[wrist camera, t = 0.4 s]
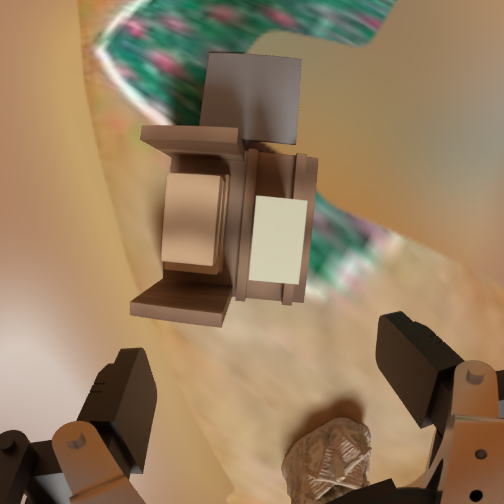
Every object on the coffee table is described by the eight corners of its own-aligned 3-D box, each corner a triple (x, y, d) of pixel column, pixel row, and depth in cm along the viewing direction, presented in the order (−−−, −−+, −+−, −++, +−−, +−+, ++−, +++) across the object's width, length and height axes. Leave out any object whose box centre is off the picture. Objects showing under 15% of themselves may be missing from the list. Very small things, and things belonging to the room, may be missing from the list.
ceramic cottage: (330, 503, 42) (346, 564, 27) (260, 465, 42) (260, 536, 27) (400, 447, 41) (436, 504, 26) (335, 401, 41) (365, 465, 26)
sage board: (258, 202, 35) (256, 195, 19) (286, 205, 35) (307, 200, 19) (254, 248, 35) (248, 280, 19) (282, 251, 35) (298, 284, 19)
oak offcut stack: (180, 173, 35) (163, 166, 28) (231, 177, 34) (224, 169, 28) (173, 263, 36) (155, 275, 29) (223, 268, 36) (214, 281, 29)
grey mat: (210, 55, 34) (209, 52, 33) (300, 61, 34) (301, 59, 33) (198, 137, 35) (197, 136, 35) (295, 145, 35) (295, 144, 35)
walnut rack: (176, 149, 36) (142, 125, 24) (316, 160, 35) (339, 139, 24) (166, 285, 38) (130, 315, 26) (301, 299, 37) (318, 335, 26)
